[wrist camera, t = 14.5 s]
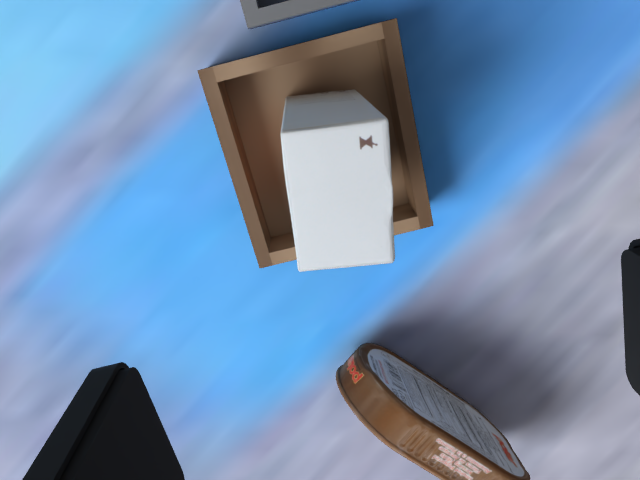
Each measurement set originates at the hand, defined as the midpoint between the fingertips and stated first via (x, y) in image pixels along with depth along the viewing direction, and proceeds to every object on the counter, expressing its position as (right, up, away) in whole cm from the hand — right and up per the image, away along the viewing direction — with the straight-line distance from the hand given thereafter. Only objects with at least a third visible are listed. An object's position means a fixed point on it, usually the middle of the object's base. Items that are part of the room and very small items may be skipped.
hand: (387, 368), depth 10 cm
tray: (-1, +9, +22) cm, 24 cm away
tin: (+6, -8, +30) cm, 31 cm away
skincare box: (-1, +8, +22) cm, 23 cm away
